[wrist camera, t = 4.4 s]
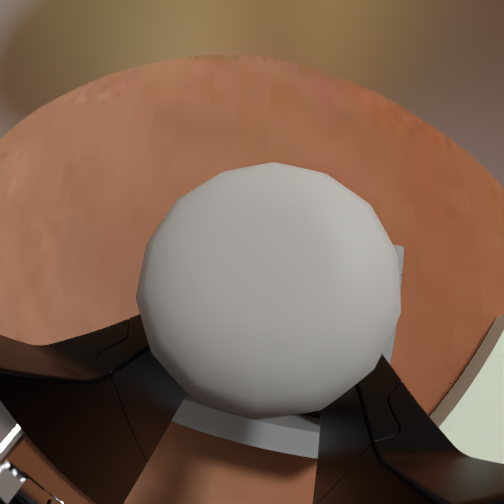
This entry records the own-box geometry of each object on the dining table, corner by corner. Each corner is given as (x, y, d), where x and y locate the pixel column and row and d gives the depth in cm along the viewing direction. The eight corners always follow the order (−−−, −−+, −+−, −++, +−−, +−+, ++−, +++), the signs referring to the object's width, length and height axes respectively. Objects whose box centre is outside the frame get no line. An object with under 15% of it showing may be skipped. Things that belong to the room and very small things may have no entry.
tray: (467, 535, 8) (478, 544, 7) (380, 467, 12) (390, 477, 11) (559, 408, 10) (574, 407, 8) (496, 316, 14) (513, 310, 13)
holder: (347, 442, 13) (364, 463, 10) (173, 401, 15) (142, 409, 12) (380, 272, 17) (403, 246, 13) (217, 241, 18) (200, 210, 15)
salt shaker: (265, 412, 15) (198, 543, 2) (208, 328, 17) (41, 232, 5) (353, 351, 15) (518, 299, 3) (293, 271, 17) (299, 73, 5)
